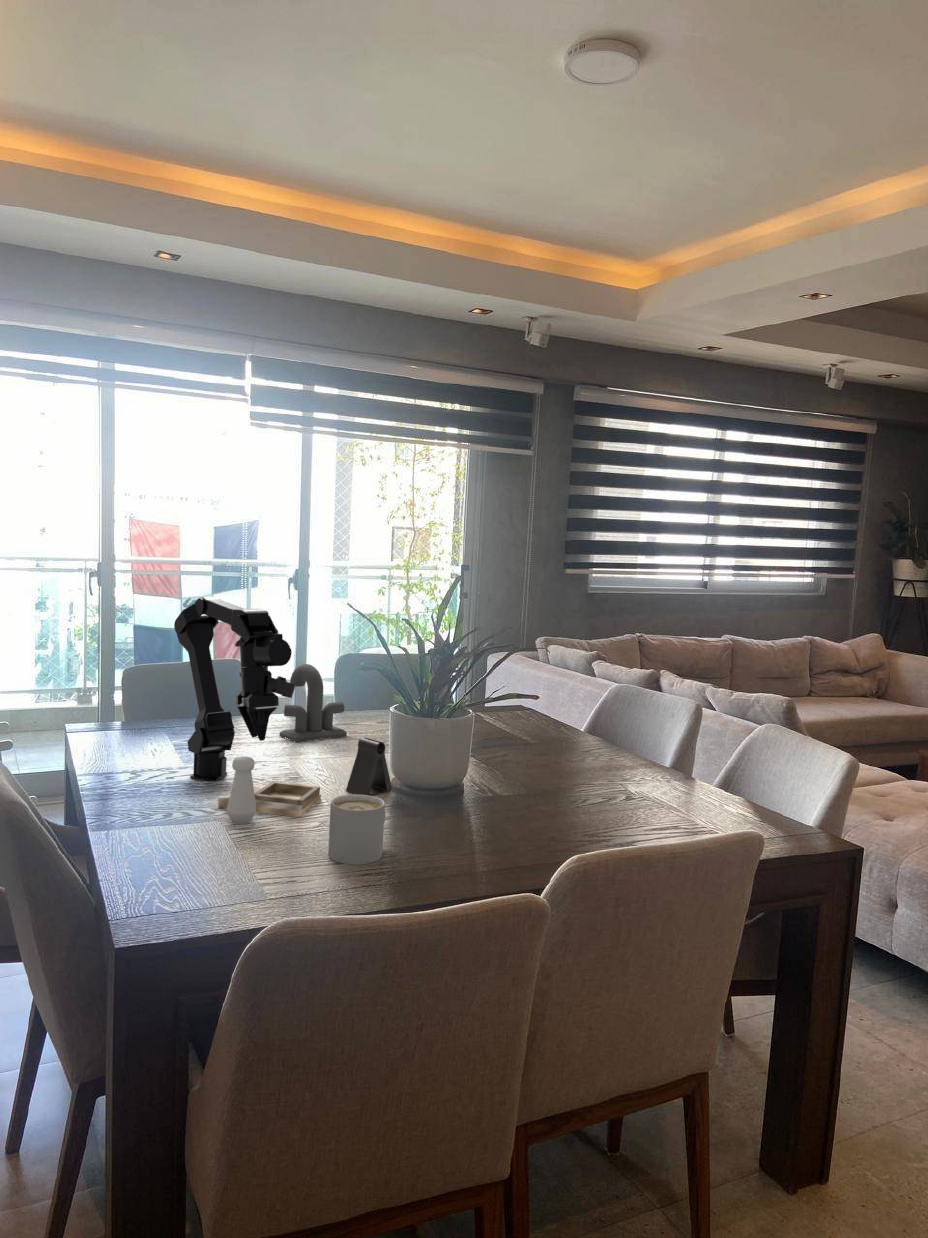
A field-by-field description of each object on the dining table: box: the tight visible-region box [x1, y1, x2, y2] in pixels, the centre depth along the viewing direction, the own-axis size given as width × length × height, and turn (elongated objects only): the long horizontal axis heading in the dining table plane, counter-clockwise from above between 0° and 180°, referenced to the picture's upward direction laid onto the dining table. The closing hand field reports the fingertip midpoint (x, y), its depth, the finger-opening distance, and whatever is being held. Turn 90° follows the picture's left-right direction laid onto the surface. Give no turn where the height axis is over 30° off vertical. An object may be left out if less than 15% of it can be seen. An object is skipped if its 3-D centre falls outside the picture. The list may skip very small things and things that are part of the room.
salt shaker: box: [226, 755, 257, 825], centre depth 188 cm, size 6×6×13 cm
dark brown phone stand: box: [345, 737, 393, 797], centre depth 214 cm, size 9×6×12 cm, turn 139°
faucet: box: [278, 663, 348, 743], centre depth 267 cm, size 18×16×20 cm
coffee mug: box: [327, 794, 386, 865], centre depth 174 cm, size 13×10×10 cm
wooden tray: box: [217, 780, 322, 818], centre depth 201 cm, size 18×13×3 cm
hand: (258, 738), depth 203 cm, fingers open, 9 cm apart
